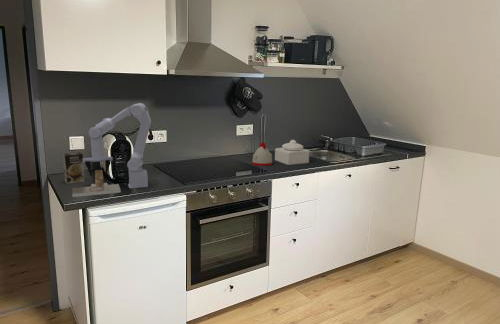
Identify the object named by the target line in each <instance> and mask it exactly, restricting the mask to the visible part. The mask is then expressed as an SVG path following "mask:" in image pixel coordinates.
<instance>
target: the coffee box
mask: <svg viewBox="0 0 500 324" xmlns="http://www.w3.org/2000/svg"><path fill="white" fill-rule="evenodd" d="M83 158H84V154H83V153H82V152H68V153H67V152H66V153H62V161H63V173H64V175H63V176H64V182H65V183H66V185H69V184H71V185H72V184H76V183H77V184H79V183H83V182H84V183H85V182H86V181H85V168H84V166H85V165H84V163H83Z"/></svg>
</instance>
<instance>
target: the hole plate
mask: <svg viewBox="0 0 500 324" xmlns="http://www.w3.org/2000/svg"><path fill="white" fill-rule="evenodd" d="M119 193H122V191H121V187H120V185H119V183H116V184H115V183H114V184H108V185H101V186H91V185H90V186H81V187H72V198H78V197H80V198H81V197H88V196H90V197H91V196H99V195H107V194H108V195H110V194H119Z"/></svg>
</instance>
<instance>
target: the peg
mask: <svg viewBox="0 0 500 324" xmlns="http://www.w3.org/2000/svg"><path fill="white" fill-rule="evenodd" d="M103 171H104V170H102V169H97V170H94V182H95V183H94V184H96V186H101V185H104V183H105V182H104V173H103Z"/></svg>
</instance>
